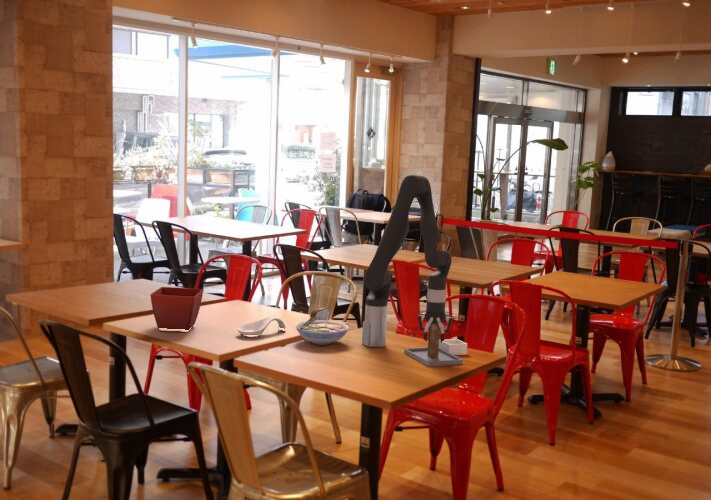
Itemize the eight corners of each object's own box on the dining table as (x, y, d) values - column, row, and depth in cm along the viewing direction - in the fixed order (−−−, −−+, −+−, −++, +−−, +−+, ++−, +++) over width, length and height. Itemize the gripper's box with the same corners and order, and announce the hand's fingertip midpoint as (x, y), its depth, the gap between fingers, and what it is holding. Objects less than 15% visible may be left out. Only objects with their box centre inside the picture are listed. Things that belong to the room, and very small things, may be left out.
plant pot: (193, 335, 343) (194, 296, 341) (149, 333, 343) (149, 294, 341) (203, 325, 362) (203, 288, 360) (160, 323, 362) (161, 286, 360)
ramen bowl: (341, 352, 325) (342, 332, 324) (287, 347, 329) (287, 327, 328) (353, 338, 349) (354, 320, 348) (303, 334, 354) (303, 316, 353)
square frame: (448, 355, 328) (449, 344, 327) (438, 350, 336) (438, 339, 335) (466, 354, 331) (467, 343, 331) (456, 349, 339) (456, 338, 338)
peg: (431, 358, 320) (433, 323, 318) (427, 356, 323) (429, 322, 321) (438, 357, 321) (440, 323, 319) (434, 355, 324) (436, 321, 322)
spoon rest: (248, 341, 338) (248, 324, 337) (231, 335, 346) (231, 319, 345) (291, 333, 354) (291, 318, 354) (274, 329, 363) (274, 313, 362)
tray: (428, 366, 309) (428, 361, 309) (404, 352, 329) (404, 348, 328) (462, 364, 315) (462, 359, 315) (436, 350, 335) (437, 346, 334)
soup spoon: (324, 322, 380) (325, 305, 379) (330, 323, 379) (331, 305, 378) (308, 328, 367) (309, 309, 366) (314, 328, 366) (315, 310, 365)
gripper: (454, 299, 322) (451, 340, 324) (418, 297, 324) (416, 338, 326) (454, 302, 315) (451, 345, 317) (417, 300, 316) (415, 342, 318)
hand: (433, 341), depth 321 cm, fingers open, 5 cm apart
